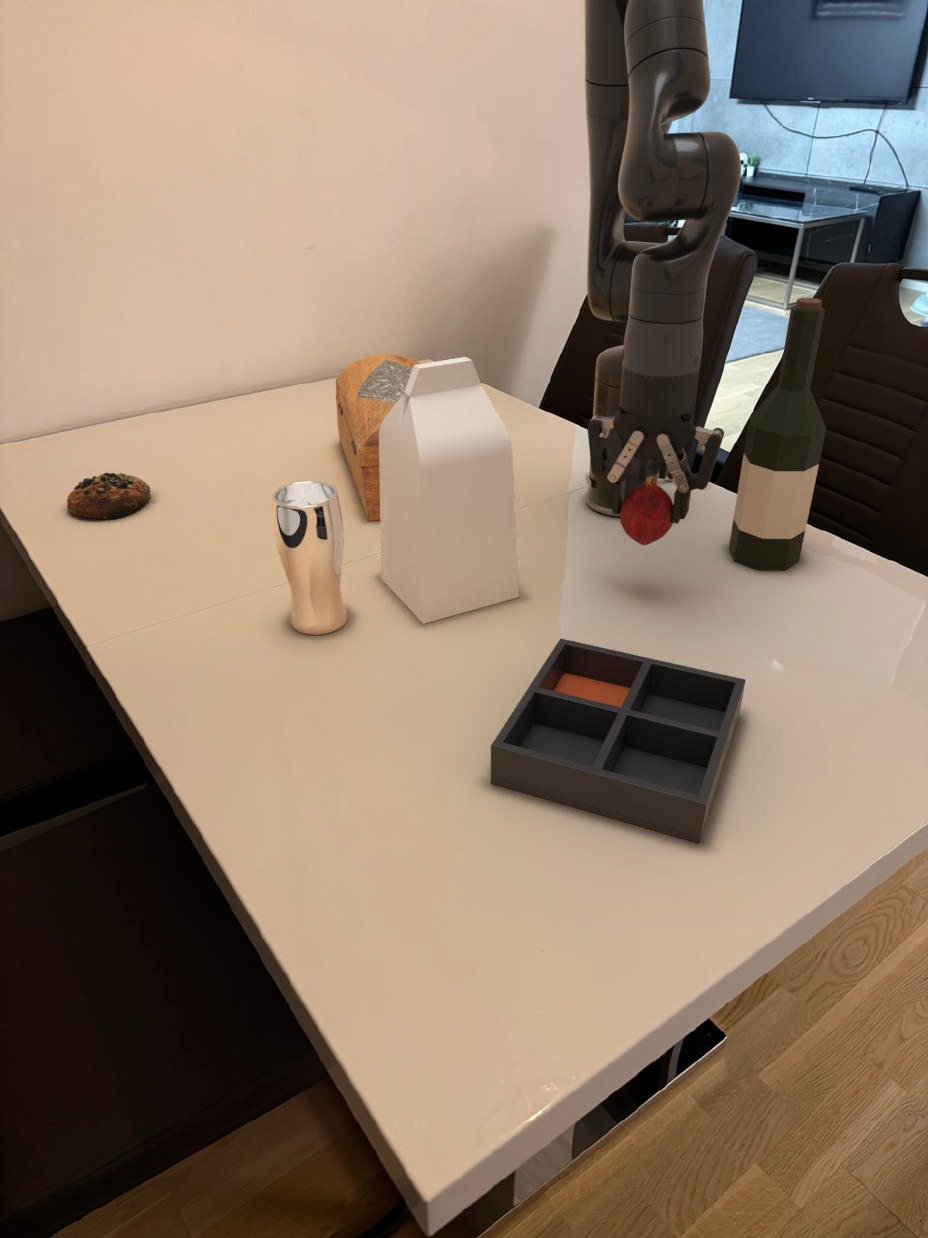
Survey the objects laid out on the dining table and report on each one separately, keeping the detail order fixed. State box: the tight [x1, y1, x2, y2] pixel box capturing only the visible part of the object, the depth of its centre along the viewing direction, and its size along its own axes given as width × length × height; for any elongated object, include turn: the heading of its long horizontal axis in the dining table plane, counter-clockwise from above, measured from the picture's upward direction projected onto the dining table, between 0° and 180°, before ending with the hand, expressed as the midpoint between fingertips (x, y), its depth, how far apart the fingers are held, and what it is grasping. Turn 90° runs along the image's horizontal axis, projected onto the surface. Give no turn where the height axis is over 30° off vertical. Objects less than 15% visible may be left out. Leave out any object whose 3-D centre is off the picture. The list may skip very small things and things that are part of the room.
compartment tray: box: [490, 638, 746, 844], centre depth 80 cm, size 18×18×4 cm
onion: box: [619, 476, 674, 546], centre depth 99 cm, size 6×6×8 cm
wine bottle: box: [728, 297, 827, 572], centre depth 103 cm, size 8×8×30 cm
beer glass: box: [271, 480, 348, 636], centre depth 96 cm, size 7×7×15 cm
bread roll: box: [66, 472, 151, 521], centre depth 126 cm, size 11×11×5 cm
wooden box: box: [335, 354, 422, 522], centre depth 131 cm, size 30×16×14 cm, turn 12°
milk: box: [379, 356, 520, 625], centre depth 99 cm, size 12×12×26 cm
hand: (646, 515), depth 99 cm, fingers closed on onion, 6 cm apart
